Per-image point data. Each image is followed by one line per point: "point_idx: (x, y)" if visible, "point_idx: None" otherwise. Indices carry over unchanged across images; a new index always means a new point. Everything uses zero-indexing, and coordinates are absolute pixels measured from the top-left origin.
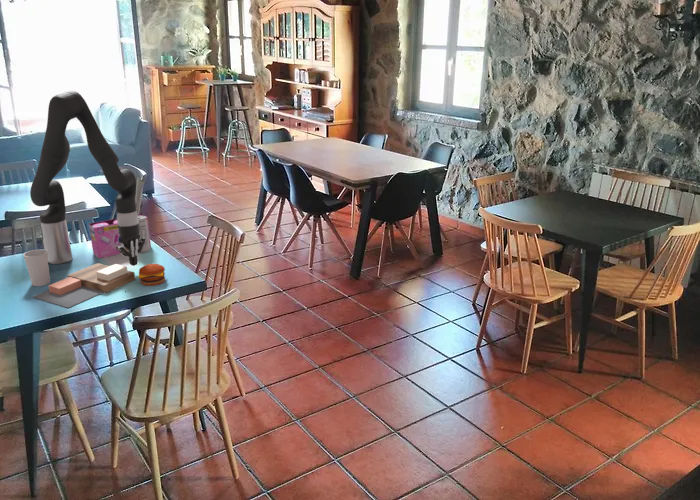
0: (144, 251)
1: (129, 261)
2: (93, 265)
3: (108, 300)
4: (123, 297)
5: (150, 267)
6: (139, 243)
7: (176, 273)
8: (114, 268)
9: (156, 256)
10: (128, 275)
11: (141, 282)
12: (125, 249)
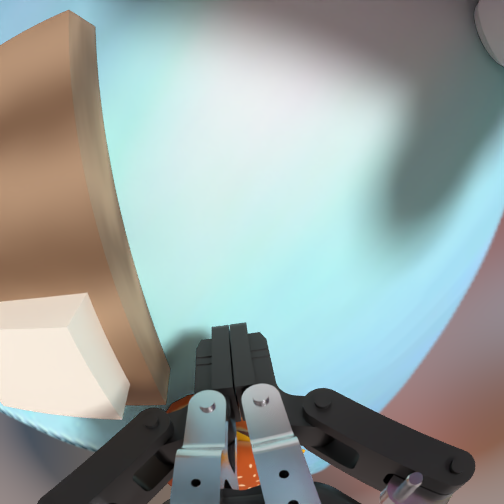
0: (497, 59)
1: (196, 361)
2: (18, 44)
3: None
4: (66, 429)
5: None
6: (381, 477)
7: None
8: (42, 384)
9: (489, 165)
10: None
11: None
12: (176, 459)
